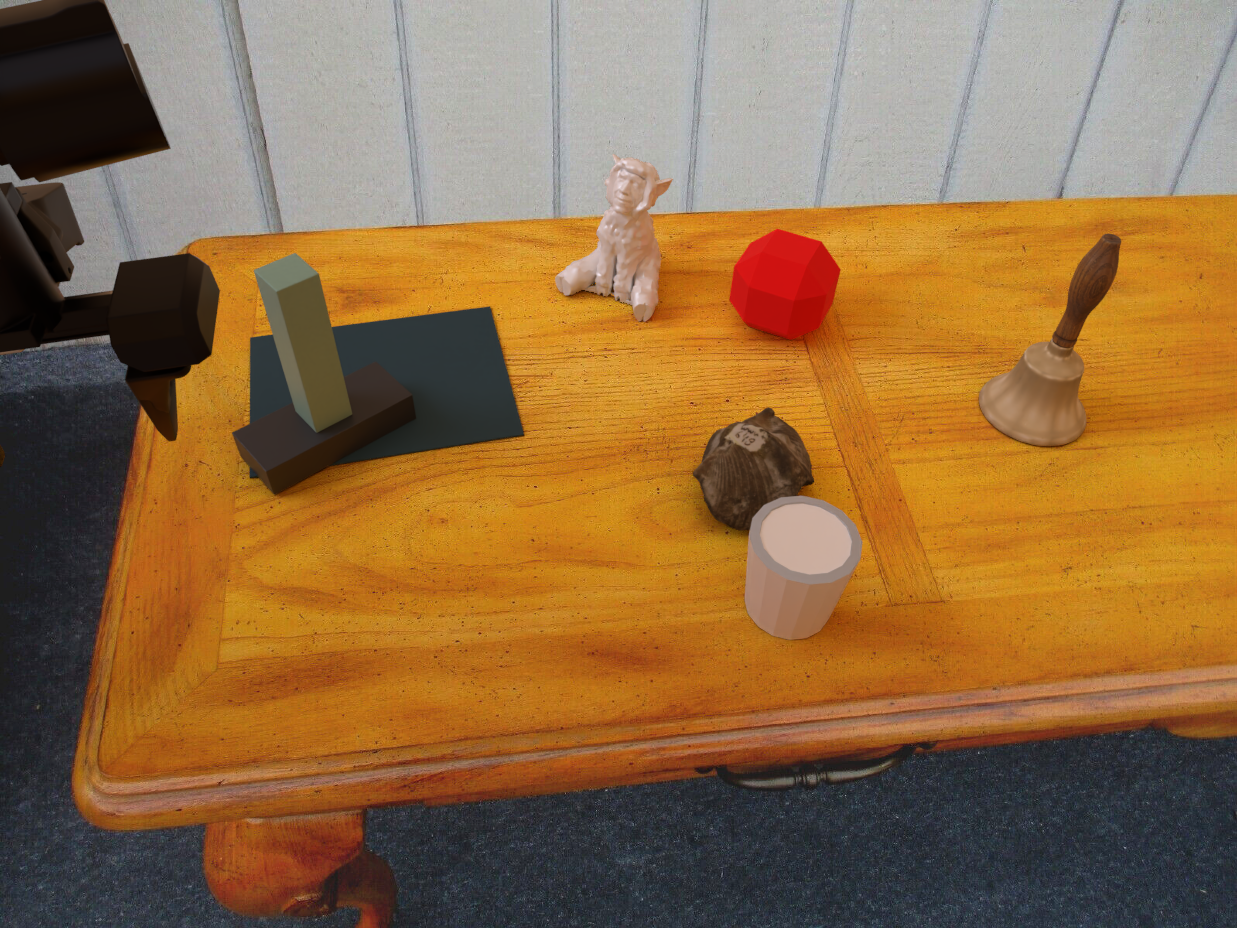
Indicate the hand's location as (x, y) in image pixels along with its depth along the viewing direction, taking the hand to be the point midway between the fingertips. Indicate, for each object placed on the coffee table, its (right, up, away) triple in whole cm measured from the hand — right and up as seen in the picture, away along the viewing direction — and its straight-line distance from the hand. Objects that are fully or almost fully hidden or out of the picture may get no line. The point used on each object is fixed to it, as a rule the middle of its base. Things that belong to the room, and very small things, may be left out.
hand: (87, 448), depth 53 cm
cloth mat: (+10, +5, +23) cm, 26 cm away
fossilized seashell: (+39, -3, +17) cm, 42 cm away
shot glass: (+40, -10, +10) cm, 43 cm away
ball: (+43, +11, +30) cm, 54 cm away
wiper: (+8, +1, +19) cm, 20 cm away
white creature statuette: (+29, +15, +33) cm, 47 cm away
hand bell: (+62, +3, +24) cm, 67 cm away
